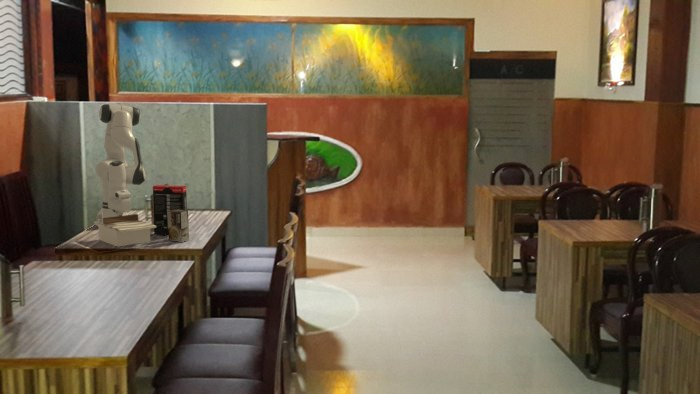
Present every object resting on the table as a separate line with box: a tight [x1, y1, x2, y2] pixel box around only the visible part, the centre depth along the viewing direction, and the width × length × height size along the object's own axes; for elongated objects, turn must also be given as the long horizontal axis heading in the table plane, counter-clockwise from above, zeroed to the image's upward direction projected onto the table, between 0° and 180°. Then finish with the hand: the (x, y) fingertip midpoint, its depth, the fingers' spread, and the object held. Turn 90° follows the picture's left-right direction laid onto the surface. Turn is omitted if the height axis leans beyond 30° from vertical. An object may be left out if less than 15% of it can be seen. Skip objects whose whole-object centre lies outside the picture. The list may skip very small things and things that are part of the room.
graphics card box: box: [152, 184, 188, 236], centre depth 399 cm, size 17×7×27 cm, turn 84°
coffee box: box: [167, 209, 190, 243], centre depth 385 cm, size 9×6×16 cm
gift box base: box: [97, 224, 151, 247], centre depth 382 cm, size 22×18×9 cm
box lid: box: [103, 213, 156, 232], centre depth 376 cm, size 22×18×4 cm
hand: (119, 219), depth 385 cm, fingers closed
